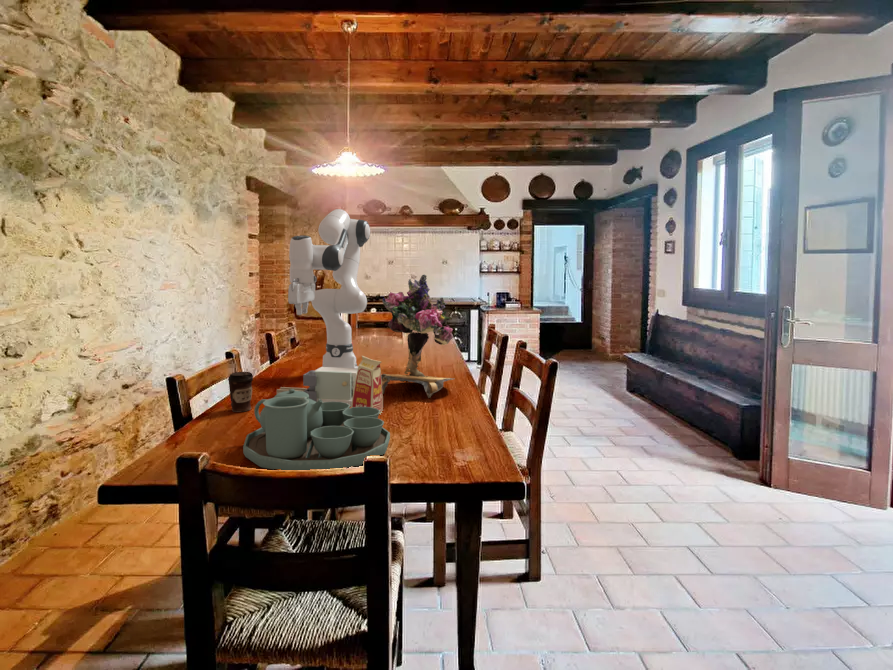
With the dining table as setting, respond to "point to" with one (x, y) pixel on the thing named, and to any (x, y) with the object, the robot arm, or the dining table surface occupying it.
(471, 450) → the dining table surface
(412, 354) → the flower vase arrangement
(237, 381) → the coffee cup
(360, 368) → the milk carton
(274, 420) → the tea set
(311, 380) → the cabinet
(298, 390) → the door rack
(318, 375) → the door
